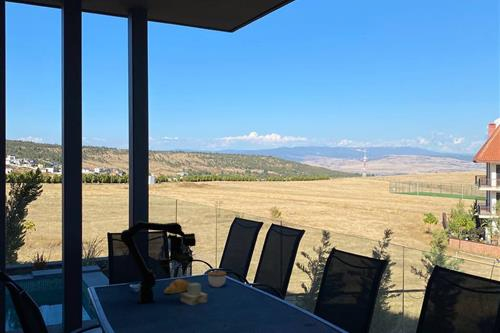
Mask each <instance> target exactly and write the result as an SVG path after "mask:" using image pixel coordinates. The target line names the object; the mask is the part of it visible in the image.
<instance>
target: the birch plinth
mask: <svg viewBox="0 0 500 333" xmlns="http://www.w3.org/2000/svg"><path fill="white" fill-rule="evenodd" d="M180 302H182V303H185V304H186V305H189V306H195V305H200V304H205V303H208V293H206V292H203V291H201V294H198V295H193V296H192V295H190V294H187V292H186V291H185V292H182V293H180Z"/></svg>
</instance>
